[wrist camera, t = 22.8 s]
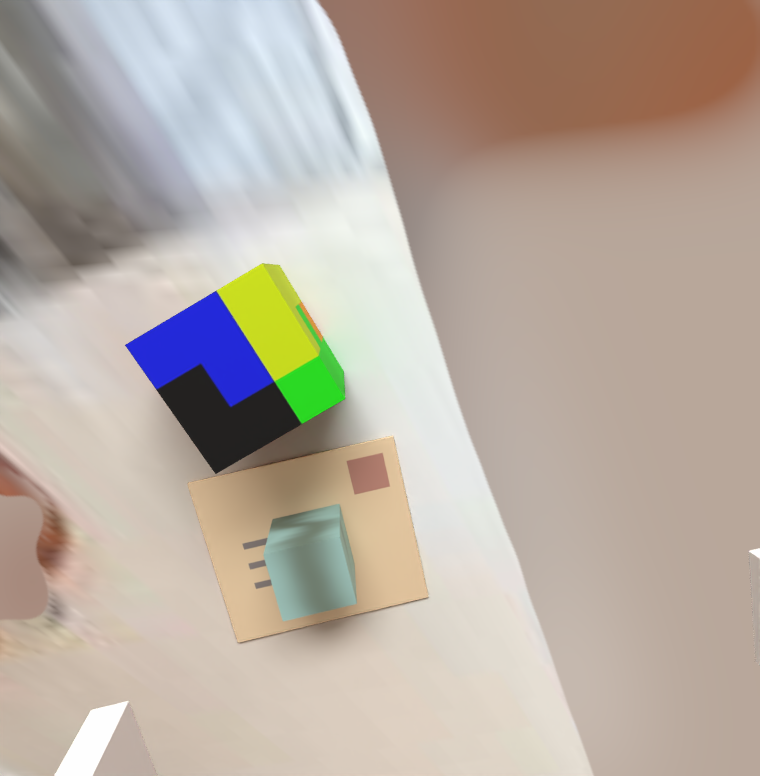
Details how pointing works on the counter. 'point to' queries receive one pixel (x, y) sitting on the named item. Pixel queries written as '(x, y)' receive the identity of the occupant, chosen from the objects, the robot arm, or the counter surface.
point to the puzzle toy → (241, 366)
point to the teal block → (310, 562)
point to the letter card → (300, 494)
